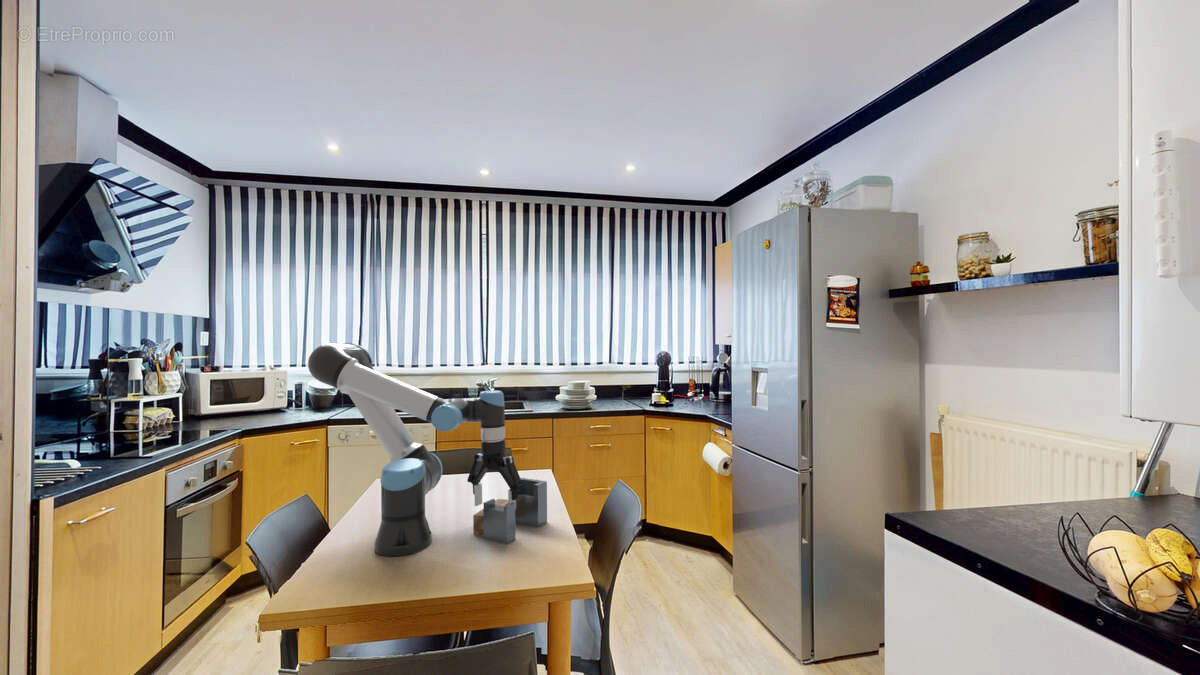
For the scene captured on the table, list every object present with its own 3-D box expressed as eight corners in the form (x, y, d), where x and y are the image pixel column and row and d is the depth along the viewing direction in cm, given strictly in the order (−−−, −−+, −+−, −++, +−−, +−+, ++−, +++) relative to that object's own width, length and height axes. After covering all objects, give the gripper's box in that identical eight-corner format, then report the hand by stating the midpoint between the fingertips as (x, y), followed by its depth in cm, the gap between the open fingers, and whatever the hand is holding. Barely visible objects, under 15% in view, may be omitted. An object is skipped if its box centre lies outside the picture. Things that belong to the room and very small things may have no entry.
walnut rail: (473, 535, 146) (473, 515, 146) (498, 517, 161) (498, 498, 162) (488, 536, 145) (488, 516, 145) (512, 518, 160) (511, 500, 160)
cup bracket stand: (481, 538, 143) (481, 493, 143) (521, 517, 160) (521, 477, 160) (508, 544, 138) (508, 498, 139) (547, 522, 156) (546, 481, 156)
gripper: (532, 440, 151) (534, 508, 151) (471, 435, 163) (473, 499, 162) (517, 444, 144) (519, 516, 144) (455, 439, 156) (456, 506, 156)
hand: (495, 507), depth 153 cm, fingers open, 13 cm apart
